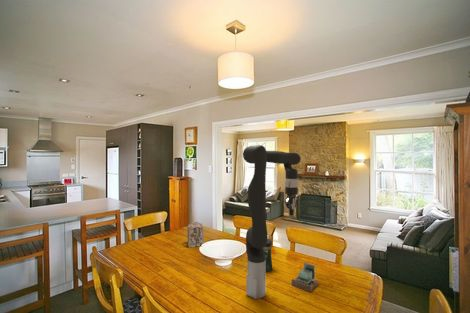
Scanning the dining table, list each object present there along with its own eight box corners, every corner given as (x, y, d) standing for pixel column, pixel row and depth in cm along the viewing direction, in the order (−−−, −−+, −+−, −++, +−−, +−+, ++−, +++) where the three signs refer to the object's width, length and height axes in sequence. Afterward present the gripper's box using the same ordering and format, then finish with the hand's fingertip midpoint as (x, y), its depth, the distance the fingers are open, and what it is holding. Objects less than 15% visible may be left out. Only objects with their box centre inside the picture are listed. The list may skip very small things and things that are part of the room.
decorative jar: (187, 242, 191) (187, 220, 191) (201, 241, 194) (201, 219, 195) (188, 248, 179) (189, 224, 180) (203, 246, 183) (204, 223, 183)
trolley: (307, 288, 123) (307, 271, 123) (297, 284, 127) (297, 267, 127) (314, 281, 130) (314, 265, 130) (304, 278, 134) (304, 262, 134)
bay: (310, 292, 120) (310, 286, 120) (291, 285, 126) (291, 279, 126) (318, 284, 128) (318, 278, 128) (300, 277, 134) (300, 272, 134)
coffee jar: (273, 267, 148) (273, 237, 148) (271, 272, 140) (271, 241, 141) (258, 265, 151) (258, 236, 151) (255, 270, 143) (255, 240, 143)
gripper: (291, 187, 132) (292, 218, 132) (302, 185, 142) (302, 214, 142) (280, 186, 137) (280, 216, 137) (291, 184, 147) (291, 212, 147)
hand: (291, 215), depth 139 cm, fingers closed
